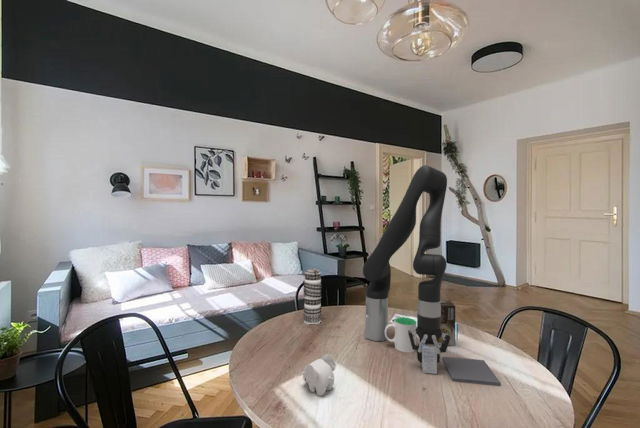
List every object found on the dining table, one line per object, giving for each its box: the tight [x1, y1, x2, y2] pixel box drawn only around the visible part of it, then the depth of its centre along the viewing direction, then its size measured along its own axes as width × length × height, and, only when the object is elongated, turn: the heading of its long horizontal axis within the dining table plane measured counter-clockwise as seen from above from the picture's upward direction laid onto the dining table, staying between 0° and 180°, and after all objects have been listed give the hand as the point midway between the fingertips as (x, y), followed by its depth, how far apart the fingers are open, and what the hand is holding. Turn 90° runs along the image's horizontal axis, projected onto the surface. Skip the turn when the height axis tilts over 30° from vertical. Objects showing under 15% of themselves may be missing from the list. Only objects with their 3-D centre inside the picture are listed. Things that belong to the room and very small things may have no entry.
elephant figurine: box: [298, 353, 337, 397], centre depth 91 cm, size 10×12×9 cm
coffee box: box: [437, 300, 456, 346], centre depth 123 cm, size 9×6×16 cm
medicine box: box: [420, 343, 438, 375], centre depth 102 cm, size 8×4×9 cm, turn 169°
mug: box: [385, 316, 417, 353], centre depth 118 cm, size 12×8×10 cm
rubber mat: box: [441, 356, 502, 387], centre depth 100 cm, size 14×14×1 cm
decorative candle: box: [302, 267, 323, 325], centre depth 144 cm, size 9×9×25 cm
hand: (428, 362), depth 103 cm, fingers closed on medicine box, 4 cm apart
